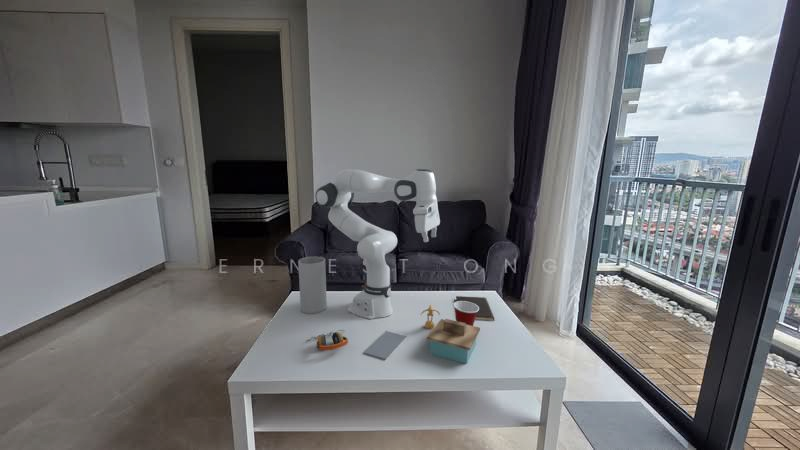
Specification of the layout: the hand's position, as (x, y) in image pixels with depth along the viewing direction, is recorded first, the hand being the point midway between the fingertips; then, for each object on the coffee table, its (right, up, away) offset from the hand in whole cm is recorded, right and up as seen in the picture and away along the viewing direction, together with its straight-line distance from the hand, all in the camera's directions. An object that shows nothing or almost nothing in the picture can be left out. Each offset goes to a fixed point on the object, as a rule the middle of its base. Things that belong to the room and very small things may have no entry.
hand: (430, 239), depth 139 cm
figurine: (0, -40, +1) cm, 40 cm away
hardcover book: (+24, -37, +23) cm, 49 cm away
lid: (+8, -36, -16) cm, 40 cm away
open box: (+8, -42, -14) cm, 45 cm away
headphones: (-41, -42, -11) cm, 59 cm away
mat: (-14, -42, -13) cm, 46 cm away
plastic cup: (+15, -40, +1) cm, 43 cm away
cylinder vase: (-56, -36, +22) cm, 69 cm away
